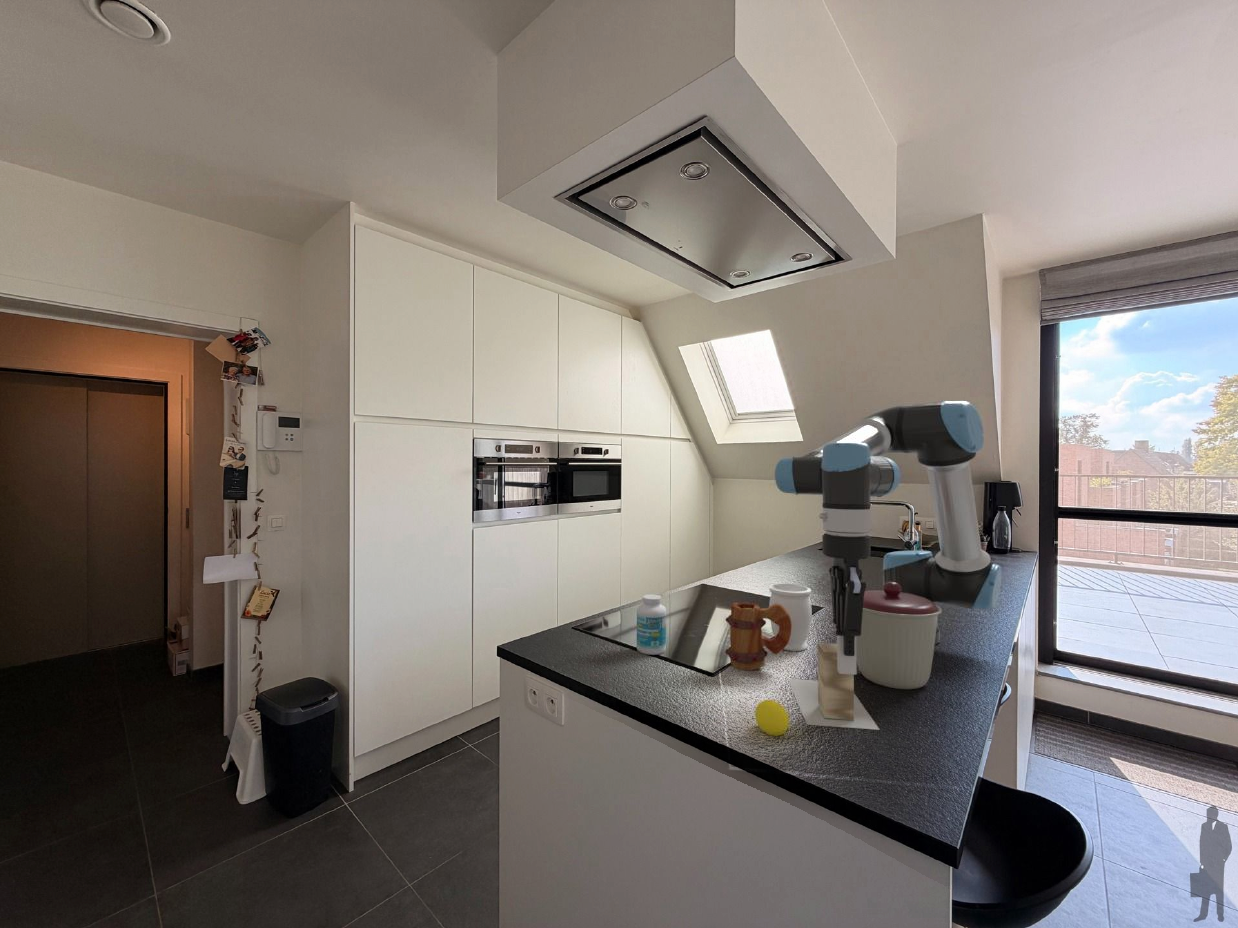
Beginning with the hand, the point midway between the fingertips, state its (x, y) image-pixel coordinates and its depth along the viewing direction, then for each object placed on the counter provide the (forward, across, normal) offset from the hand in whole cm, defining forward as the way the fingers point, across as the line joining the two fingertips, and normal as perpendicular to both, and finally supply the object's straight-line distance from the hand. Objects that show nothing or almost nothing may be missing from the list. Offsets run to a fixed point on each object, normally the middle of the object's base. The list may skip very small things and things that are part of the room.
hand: (846, 672), depth 87 cm
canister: (+11, -26, +16) cm, 33 cm away
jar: (+11, -45, -2) cm, 47 cm away
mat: (+11, -12, 0) cm, 16 cm away
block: (+10, -7, 0) cm, 13 cm away
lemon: (+11, +1, -12) cm, 17 cm away
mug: (+11, -28, -12) cm, 33 cm away
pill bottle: (+11, -36, -36) cm, 53 cm away
